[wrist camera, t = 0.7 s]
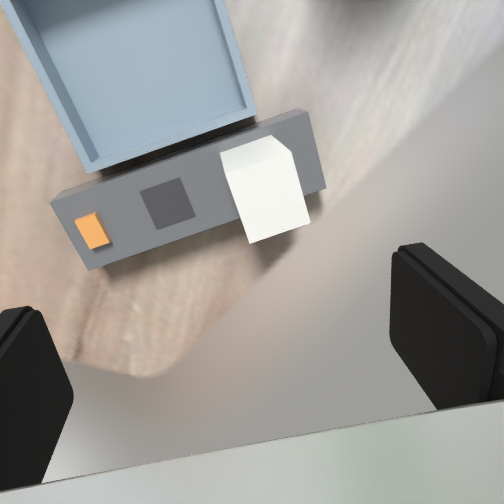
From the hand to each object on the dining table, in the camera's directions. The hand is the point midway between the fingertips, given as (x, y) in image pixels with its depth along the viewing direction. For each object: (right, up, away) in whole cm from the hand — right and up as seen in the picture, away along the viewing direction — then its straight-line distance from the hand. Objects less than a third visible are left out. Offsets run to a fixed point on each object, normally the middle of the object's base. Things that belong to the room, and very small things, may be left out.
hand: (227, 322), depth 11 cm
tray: (-7, +16, +18) cm, 25 cm away
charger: (+1, +9, +21) cm, 23 cm away
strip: (-4, +7, +22) cm, 24 cm away
